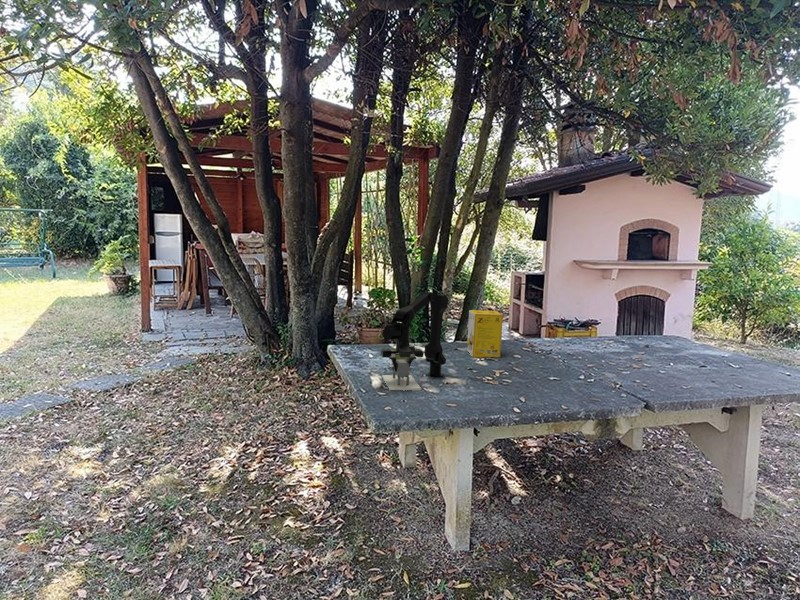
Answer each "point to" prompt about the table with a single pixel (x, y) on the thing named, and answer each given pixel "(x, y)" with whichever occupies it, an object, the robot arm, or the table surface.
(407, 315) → the robot arm
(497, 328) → the packaging box
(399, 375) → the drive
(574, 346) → the table surface
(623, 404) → the table surface
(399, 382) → the peg board
